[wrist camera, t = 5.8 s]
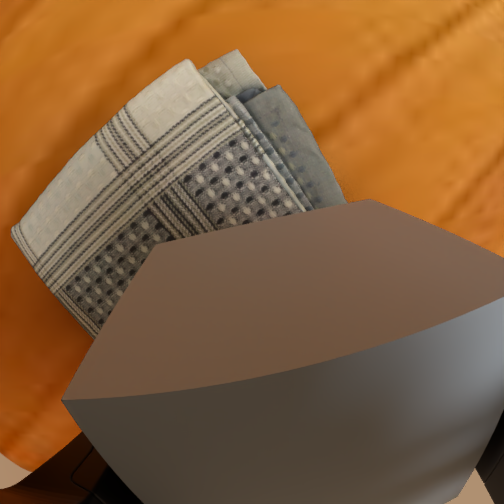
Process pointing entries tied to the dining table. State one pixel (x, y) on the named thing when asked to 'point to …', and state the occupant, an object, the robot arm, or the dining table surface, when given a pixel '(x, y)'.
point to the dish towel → (171, 181)
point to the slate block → (300, 363)
